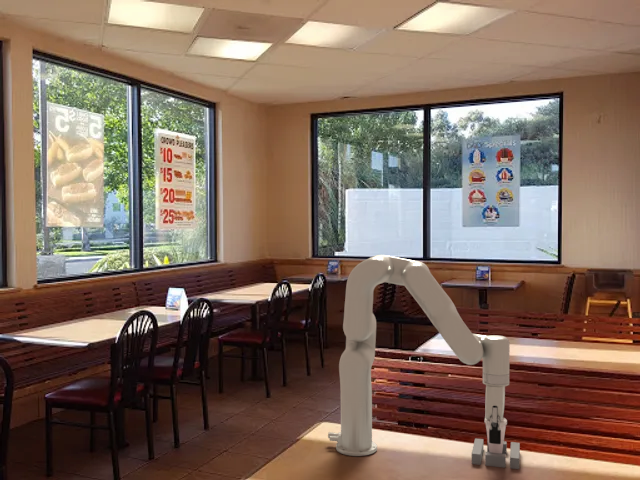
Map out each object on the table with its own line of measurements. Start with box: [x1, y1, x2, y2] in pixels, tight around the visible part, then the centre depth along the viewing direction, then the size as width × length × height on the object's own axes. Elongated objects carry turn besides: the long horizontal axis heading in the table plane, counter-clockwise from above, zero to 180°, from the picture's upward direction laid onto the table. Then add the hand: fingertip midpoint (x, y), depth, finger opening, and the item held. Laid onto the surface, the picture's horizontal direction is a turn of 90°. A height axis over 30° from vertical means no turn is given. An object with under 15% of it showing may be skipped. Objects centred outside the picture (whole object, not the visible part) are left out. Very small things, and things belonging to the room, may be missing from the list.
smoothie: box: [484, 407, 508, 454], centre depth 181 cm, size 6×6×14 cm
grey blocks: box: [471, 437, 521, 470], centre depth 182 cm, size 13×13×3 cm
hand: (495, 438), depth 181 cm, fingers closed on smoothie, 6 cm apart
